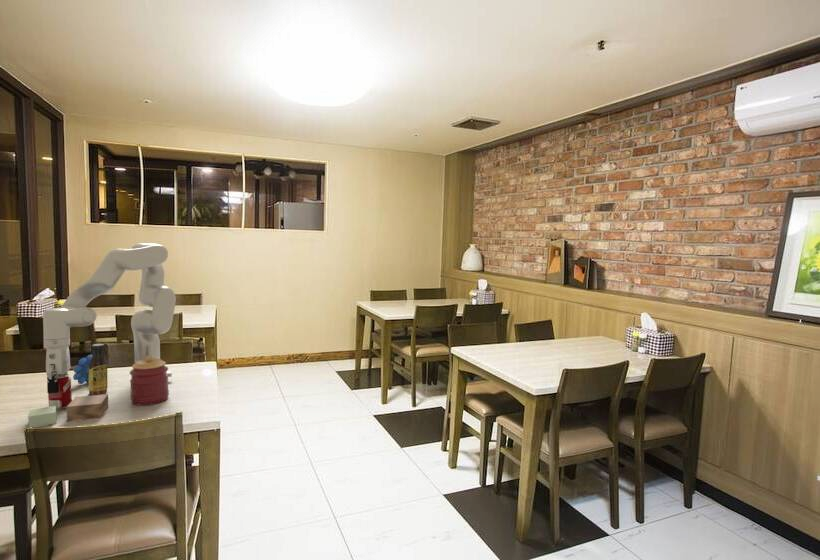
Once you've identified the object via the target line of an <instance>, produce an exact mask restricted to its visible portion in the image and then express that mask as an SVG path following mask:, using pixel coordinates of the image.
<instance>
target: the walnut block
mask: <svg viewBox="0 0 820 560" xmlns="http://www.w3.org/2000/svg"><path fill="white" fill-rule="evenodd" d="M108 409H109V394H108V393H104V394H101V395H82V396H75V397H74V398H72V401H71V402H70V404H69V405H68V406H67V408H66V421H67V422H69V421H79V420H80V421H81V420H89V419H100V418H103V416H104V414H105V413H106V412H107V410H108Z"/></svg>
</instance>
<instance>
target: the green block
mask: <svg viewBox="0 0 820 560" xmlns="http://www.w3.org/2000/svg"><path fill="white" fill-rule="evenodd" d="M27 417H28V428H29V429H31V428H30V427H34V428H39V427H40V428H41V427H44V426H43V425H45V426H49V425H48V424H51V425H57V410H56V406H51V407H49V406H47V407H46V406H45V407H40V408H33V409H29V411H28V416H27Z"/></svg>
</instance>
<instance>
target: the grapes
mask: <svg viewBox="0 0 820 560" xmlns="http://www.w3.org/2000/svg"><path fill="white" fill-rule="evenodd" d="M92 357H93V356H92V354H88V355H87V356H86V357H82V358H80V359H79V360H78V365H75V366H74V367H73V369H72V371H73V373H74V375H72V376H73V377H72V379H73V380H74V381H77V383H78V384H79V385H83V384H84V383H87V384H89V362H90V359H91V358H92Z"/></svg>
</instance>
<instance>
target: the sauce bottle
mask: <svg viewBox="0 0 820 560" xmlns="http://www.w3.org/2000/svg"><path fill="white" fill-rule="evenodd" d="M91 349H92V354H91V355H92V356H93V357H92V358H91V359H90V362H89V383H88V394H89V396H92V395H103V394H107V392H108V361H107V358H106V356H105V352H104V350H105V344H104V343H95V344H92V345H91Z"/></svg>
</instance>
